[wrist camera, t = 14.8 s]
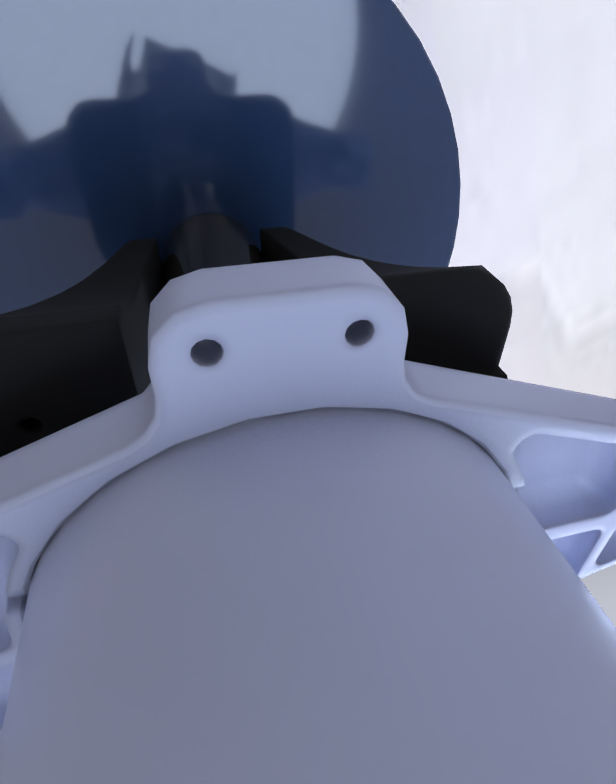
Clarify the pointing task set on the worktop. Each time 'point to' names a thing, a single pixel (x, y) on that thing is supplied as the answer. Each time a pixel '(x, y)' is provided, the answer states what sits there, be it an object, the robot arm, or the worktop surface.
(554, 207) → the worktop surface
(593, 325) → the worktop surface
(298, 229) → the lid
